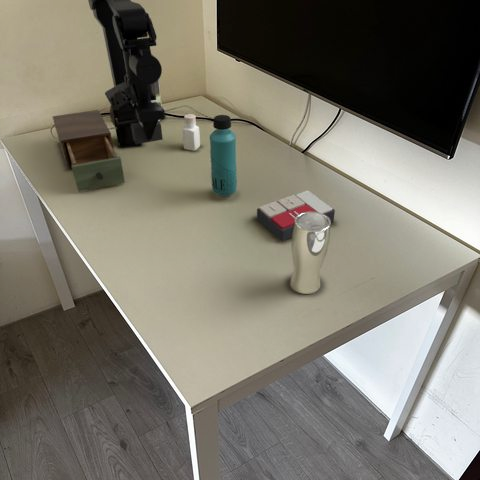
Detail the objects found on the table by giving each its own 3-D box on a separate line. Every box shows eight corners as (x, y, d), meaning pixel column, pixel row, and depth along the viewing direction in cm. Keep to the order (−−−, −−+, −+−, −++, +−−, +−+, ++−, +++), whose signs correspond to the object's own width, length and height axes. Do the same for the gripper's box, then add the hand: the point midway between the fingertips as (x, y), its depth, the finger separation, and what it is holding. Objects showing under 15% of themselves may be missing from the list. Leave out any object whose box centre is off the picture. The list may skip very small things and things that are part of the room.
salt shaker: (183, 149, 142) (180, 117, 135) (189, 144, 145) (186, 112, 138) (195, 151, 141) (193, 119, 134) (201, 146, 143) (199, 114, 137)
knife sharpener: (159, 134, 124) (156, 114, 121) (162, 139, 122) (160, 119, 119) (133, 139, 123) (129, 118, 119) (136, 144, 120) (132, 123, 117)
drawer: (126, 184, 125) (121, 160, 120) (79, 193, 121) (72, 169, 117) (111, 155, 137) (107, 132, 132) (68, 163, 134) (62, 140, 129)
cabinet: (115, 161, 136) (110, 132, 131) (68, 169, 133) (60, 140, 127) (103, 137, 149) (98, 109, 143) (60, 144, 145) (52, 116, 139)
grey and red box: (256, 205, 111) (308, 187, 116) (256, 221, 114) (307, 202, 119) (281, 228, 104) (336, 207, 109) (281, 244, 107) (334, 223, 112)
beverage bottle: (238, 189, 124) (237, 111, 110) (235, 202, 120) (234, 122, 106) (213, 188, 125) (210, 110, 111) (210, 201, 120) (205, 121, 106)
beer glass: (285, 274, 98) (290, 211, 88) (318, 272, 99) (327, 209, 88) (290, 296, 93) (296, 232, 83) (325, 294, 94) (335, 230, 83)
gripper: (96, 63, 115) (109, 128, 126) (112, 88, 103) (124, 157, 113) (141, 58, 118) (150, 121, 129) (161, 81, 106) (169, 149, 117)
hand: (147, 136), depth 122 cm, fingers closed on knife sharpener, 3 cm apart
